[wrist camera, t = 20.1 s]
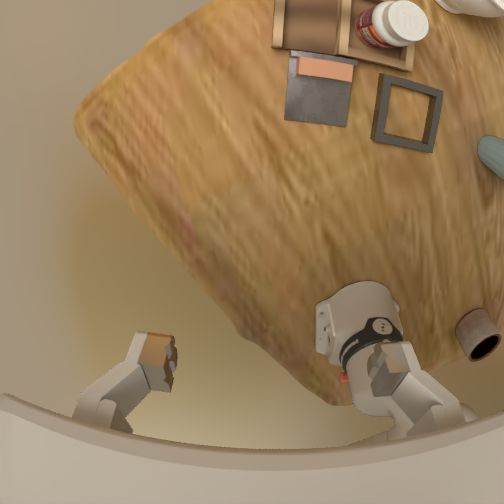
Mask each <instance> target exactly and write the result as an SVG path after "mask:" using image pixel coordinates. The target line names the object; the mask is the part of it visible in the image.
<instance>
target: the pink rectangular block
mask: <svg viewBox="0 0 504 504" xmlns="http://www.w3.org/2000/svg"><path fill="white" fill-rule="evenodd" d="M353 66H354V65H350V64H345V63H339V62H334V61H328V60H321V59H314V58H307V57H298V58H297V63H296V74H301V75H309V76H317V77H324V78H330V79H337V80H343V81H349V82H352V75H353Z"/></svg>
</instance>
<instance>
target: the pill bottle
mask: <svg viewBox="0 0 504 504" xmlns="http://www.w3.org/2000/svg"><path fill="white" fill-rule="evenodd" d="M355 30H356V33H357V35H358V37H359V38H360V39H361V40H362V41H363V42H364V43H365V44H366V45H368V46H370V47H373V48H390V47H403V46H407V45H410V44H412V43H413V42H414V41H419V40H421V39H423V38H424V37H425V36H426V34H427V32H428V20H427V17H426V15H425V13H424V12H423V11H422V10H421V8H419V7H418V6H417V5H416V4H414V3H412V2H410V1H406V0H399V1H386V2H382V3H380V4H378V5H376V6H373V7H371V8H369V9H367V10H365V11H363V12H362V13H361V14H359V15H358V17H357V19H356V21H355Z"/></svg>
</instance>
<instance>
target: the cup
mask: <svg viewBox="0 0 504 504" xmlns="http://www.w3.org/2000/svg"><path fill="white" fill-rule="evenodd" d="M478 156H479V159H480V160H481V161H482V162H483V163H484V164H485V165H486V166H487V167H489V168H490V169H491V170H492V171H493V172H494V173H495V174H497V175H498V176H499V177H500V178H501V179H502V180H503V181H504V139H501V138H497V137H494V136H490V135H487V136H484V137H483V138H482V139H481V140H480V142H479V145H478Z"/></svg>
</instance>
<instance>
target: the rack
mask: <svg viewBox="0 0 504 504" xmlns="http://www.w3.org/2000/svg"><path fill="white" fill-rule="evenodd" d="M386 1H399V0H275V3H274V18H273V33H272V48H279V49H289V50H298V51H307V52H314V53H321V54H327V55H333V56H339V57H345V58H350V59H355V60H360V61H364V62H369V63H373V64H377V65H381V66H385V67H389V68H393V69H397V70H400V71H404V72H408V71H411V72H412V70H413V60H414V50H415V41H414V42H413V43H412V44H410V45H407V46H403V47H390V48H373V47H370V46H368V45H366V44H365V43H364V42H363V41H362V40H361V39H360V38H359V37H358V35H357V33H356V30H355V21H356V19H357V17H358V15H359V14H361V13H362V12H363V11H365V10H367V9H369V8H371V7H373V6H376V5H378V4H380V3H382V2H386Z"/></svg>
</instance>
